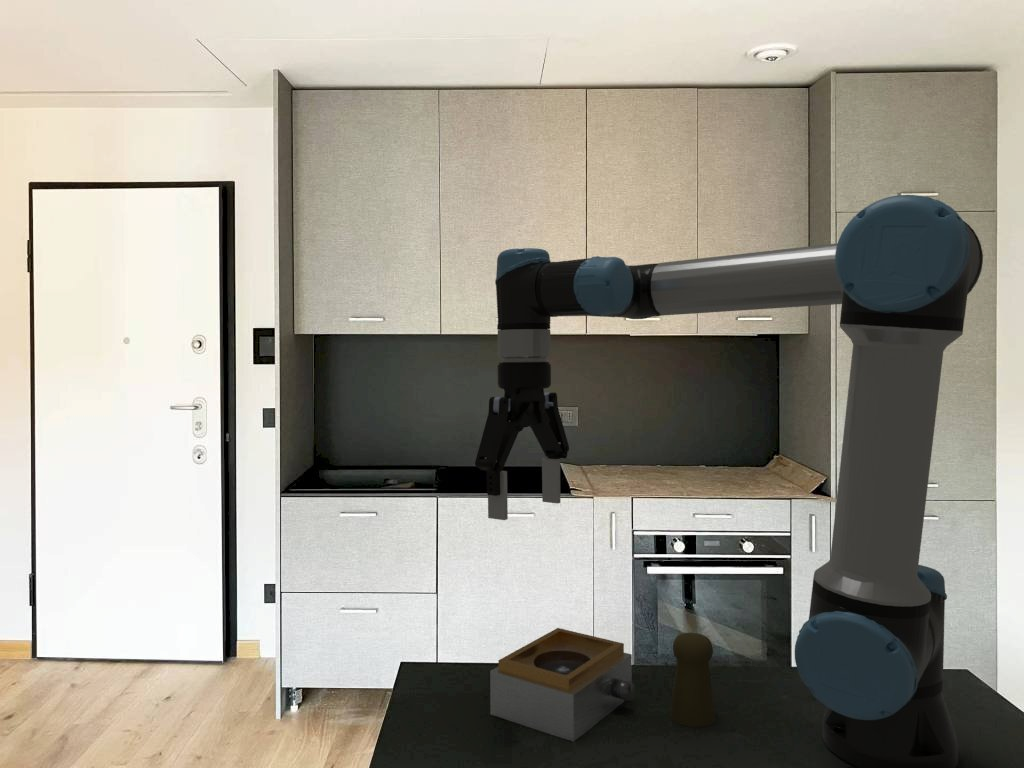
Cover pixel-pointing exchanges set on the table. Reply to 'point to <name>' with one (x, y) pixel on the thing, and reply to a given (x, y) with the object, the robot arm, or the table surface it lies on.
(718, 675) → the table surface
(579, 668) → the grey box with hole
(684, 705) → the cork
